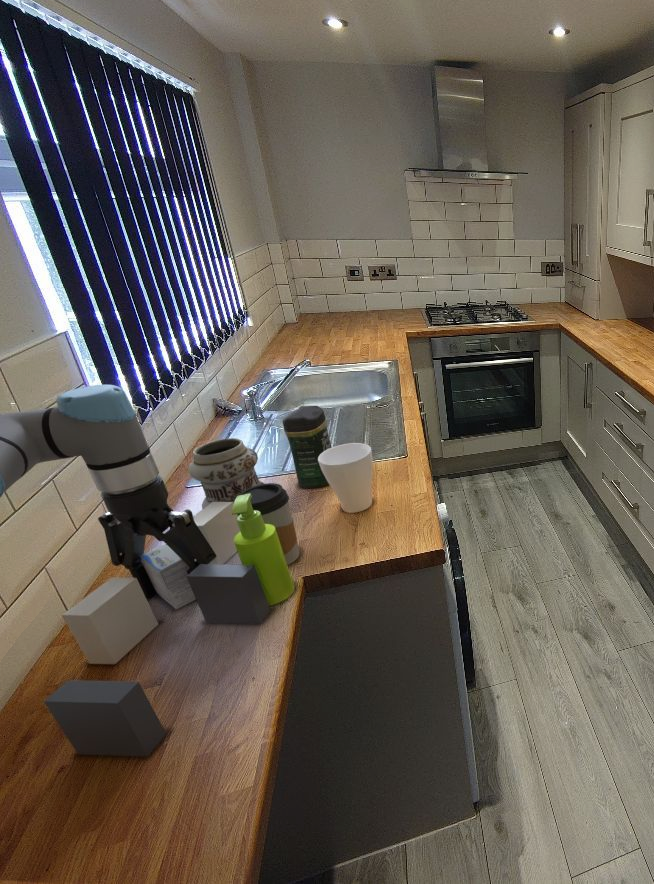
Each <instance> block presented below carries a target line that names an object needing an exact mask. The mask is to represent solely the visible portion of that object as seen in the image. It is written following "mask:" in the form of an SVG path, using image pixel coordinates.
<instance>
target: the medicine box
mask: <svg viewBox="0 0 654 884" xmlns="http://www.w3.org/2000/svg"><path fill="white" fill-rule="evenodd" d="M140 559H141V562H142V564H143V566H144V568H145V570H146V572H147V574H148V576H149V578H150V580H151V583H152V585H153V587H154V589H155V591H156V594H157V595H158V596H160V598H162V599H163V600H164V601H166V602H167V603H168V604H169V605H170V606H171V607H173V608H174V609H175V610H178V609H180V608H182V607H185V606H186V605H188V604H190V603H192V602H194V601H197V600H196V598H195V596H194V593H193V591H192V589H191V586H190V584H189V582H188V579H187V577H186V576H187V575H188V573H187V570H188V569H190V567H189V566H188V565H187V564H186V563H185V562H184V561H183V560H182V559H181V558H180V557H179V556H178V555H177V554H176V553H175V552H174V551H173V550H172V549H171V548H170V547H169V546H168V545H167V544H166V543H164V544H162V545H161V546H158V547H155V548H153V549H151V550H149V551H147V552H144V554H143V555H141V556H140Z"/></svg>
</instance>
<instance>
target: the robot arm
mask: <svg viewBox="0 0 654 884" xmlns="http://www.w3.org/2000/svg"><path fill="white" fill-rule="evenodd" d="M55 401H56V404H57V406H54V407H48V408H40V409H31V410H24V411H23V410H22V411H15V412H7V413H0V498H2V497H3V495H4V494H5V492H6V491H8V489H10V488H11V487H12V486H13V485H14V484H15V483H16V482H17V481H19V480H20V479H22V478H23V477H24V476H25V475H26V474H27V473H29V471H31V470H32V469H33V468H34V467H35V466H36V465H38V464H41V463H46V462H47V463H48V462H52V461H57V460H58V461H59V460H64V459H65V460H66V459H70V458H75V457H81V458H82V459H83V461H84V463H85V465H86V467H87V469H88V472H89V474H90V476H91V478H92V480H93V483H94V485H95V487H96V490H98V491H99V492H100V496H101V497H100V498H101V499H102V501H103V504H104V505H105V507H106V509H107V511H106V512H105V513H104V514H101V515H100V516H99V517H98V518H97V520H98V522H99V524H100V525H101V526H102V528H103V531H104V534H105V535H104V536H105V539H106V543H107V544H106V545H107V548H108V551H109V556H110V561H111V564H112V565H113V566H114V567H119V566H120V565H121V566H123V567H124V568H125V569H127V570H129V573H130V574H131V578H137V580H138V582H139V584H140V587H141V589H142V591H143V593H144V595H145V597H146V599H147V600H149V599H151V598H152V597H154V596H155V595H156V594H157V593H156V591H155V589H154V587H153V585H152V583H151V580H150V578H149V576H148V574H147V572H146V570H145V568H144V566H143V564H142V561H141V559H140V556H141V555H143V554H145V547H146V538H147V536H152V537H154V538H155V539H156V540H157V541H158V542H164V544H167V545H168V546H169V547H170V548H171V549H172V550H173V551H174V552H175V553H176V554H177V555H178V556H179V557H180V558H181V559H182V560H183V561H184V562H185V563H186V564H187V565H188V566H189V567H190V569H188V570H187V573H188V574H190V573H191V572H192V571H193V570H194V569H195V568H196V567H198V566H199V565H200V564H209V563H210V562H211V561H213V560H214V559H215V558H216V557H217V555H216V554H215V552H214V551H213V549H212V548H211V546H210V544H209V543H208V541H207V540H206V538H205V537H204V535H203V534H202V532H201V531H200V529H199V528H198V526H197V525H196V523H195V522H194V518H193V516H194V514H193V511H191V509H185V510H183V511H174V510H173V509H172V507H171V506H170V505H169V504H168V498H169V491H168V489H167V486H166V484H165V481H164V479H163V477H162V476H161V475H159V474H160V471H159V468H158V466H157V464H156V460H155V458H154V456H153V453H152V452H151V449H150V447H149V445H148V442H147V439H146V437H145V434H144V432H143V431H144V430H143V429H142V427H141V423H140V421H139V419H138V414H137V411H136V410H135V409H134V407H133V406H132V402H131V401H130V400H129V398H128V396H127V394H126V392H125V390H124V389H123V388H122V387H120V386H117V385H114V384H95V385H88V386H84V387H78V388H74V389H70V390H67V391H65V392H63V393H61V394H59V395H58V396H57V397H56V400H55ZM195 559H196V560H195Z"/></svg>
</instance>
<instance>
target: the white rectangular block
mask: <svg viewBox="0 0 654 884" xmlns="http://www.w3.org/2000/svg"><path fill="white" fill-rule="evenodd" d="M61 617H62V618H63V621H64V622H65V624H66V625H67V627H68V629H69V631H70V632H71V634H72V636H73V638H74V639H75V641H76V643H77V644H78V647H79V648H80V650H81V651H82V653H83V656H84V657H85V658H86V660H87V662H88V664H89V665H116V664H117V663H118V662H120V661H121V659H122V658H124V657H125V656H126V655H127V654H128V653H129V652H131V650H133V648H135V647H136V646H137V645H138V644H139V643H140V642H141V641H142V640H143V639H144V638H145V637H147V635H149V634H150V633H151V632H152V631H153V630H154V629H155V628H156V627H158V625H159V622H158V620H157V618H156V616H155V614H154V612H153V609H152V607H151V606H150V603H149V601H148V599H146V597H145V595H144V593H143V591H142V589H141V587H140V584H139V582H138V580H137V578H133V577H110V578H109V579H107V580H106V581H105V582H104V583H102V584H101V585H99V586H98V587H96V589H94V590H93V591H92V592H90V593H89V594H88V595H86V596H85V597H84V598H83V599H81V600H79V601H78V602H77V603H75V604H74V605H73V606H72V607H71V608H69V609H68V610H67V611H65V612H64V613H62V614H61Z"/></svg>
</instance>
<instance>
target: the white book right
mask: <svg viewBox="0 0 654 884" xmlns="http://www.w3.org/2000/svg"><path fill="white" fill-rule="evenodd" d="M232 508H233V502H212V503H210V504H209V505H208V506H206V507H205V508H204V509H202V508H201V510H200V511H199V512H197V513H196V514H193V518H194V522H195V523H196V525H197V526H198V528H199V529H200V531H201V532H202V534H203V535H204V537H205V538H206V540H207V541H208V543H209V544H210V546H211V548H212V549H213V551H214V552H215V554H216V555H217V557H216V558H215V559H214V560H213V561H211V562H210V563H209V564H219V565H225V563H226V562H227V561H228V560H230V559H231V558H232V557H233V556H235V554H236V553H238V551H237V549H236V546H235V543H234V537H235V536H236V535H237V534H238V533H239V532H240V529H239V526H238V523H237V520H236V519H237V517H238V516H237V514H236V515H232ZM195 561H196V559H195Z"/></svg>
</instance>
